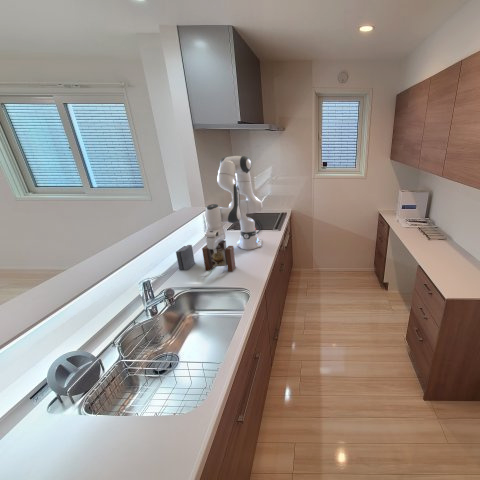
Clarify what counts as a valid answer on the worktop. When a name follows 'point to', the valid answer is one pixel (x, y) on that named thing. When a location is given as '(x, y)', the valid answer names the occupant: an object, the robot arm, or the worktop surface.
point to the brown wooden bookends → (228, 255)
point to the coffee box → (219, 255)
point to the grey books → (185, 257)
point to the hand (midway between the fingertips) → (218, 250)
